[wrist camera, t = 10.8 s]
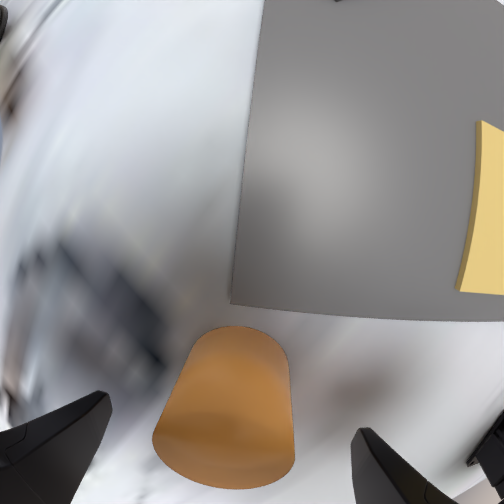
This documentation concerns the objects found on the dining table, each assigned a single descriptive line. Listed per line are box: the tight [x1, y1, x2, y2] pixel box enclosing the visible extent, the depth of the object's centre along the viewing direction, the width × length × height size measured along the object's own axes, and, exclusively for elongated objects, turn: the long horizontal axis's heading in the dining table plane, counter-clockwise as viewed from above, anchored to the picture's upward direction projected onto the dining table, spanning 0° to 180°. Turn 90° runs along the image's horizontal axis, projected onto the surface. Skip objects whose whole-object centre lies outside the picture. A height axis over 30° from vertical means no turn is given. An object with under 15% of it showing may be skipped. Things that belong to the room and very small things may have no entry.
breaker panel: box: [230, 0, 504, 322], centre depth 8 cm, size 17×18×1 cm
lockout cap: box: [152, 326, 295, 489], centre depth 9 cm, size 4×4×5 cm
